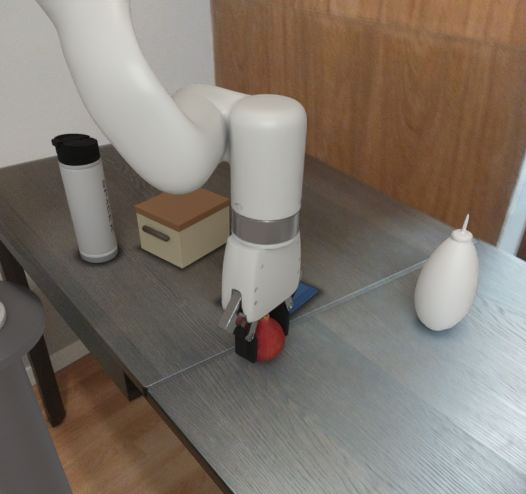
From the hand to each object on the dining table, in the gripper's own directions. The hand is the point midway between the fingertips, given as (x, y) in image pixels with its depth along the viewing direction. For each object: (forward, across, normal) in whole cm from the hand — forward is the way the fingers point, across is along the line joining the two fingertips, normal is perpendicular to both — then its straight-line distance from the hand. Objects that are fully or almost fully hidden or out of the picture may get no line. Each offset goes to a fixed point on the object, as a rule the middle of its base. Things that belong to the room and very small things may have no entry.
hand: (262, 343), depth 70 cm
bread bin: (+3, -15, -29) cm, 33 cm away
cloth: (+3, -12, -8) cm, 15 cm away
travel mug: (+3, -3, -38) cm, 38 cm away
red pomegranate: (+3, 0, 0) cm, 3 cm away
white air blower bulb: (+3, -22, +15) cm, 27 cm away
